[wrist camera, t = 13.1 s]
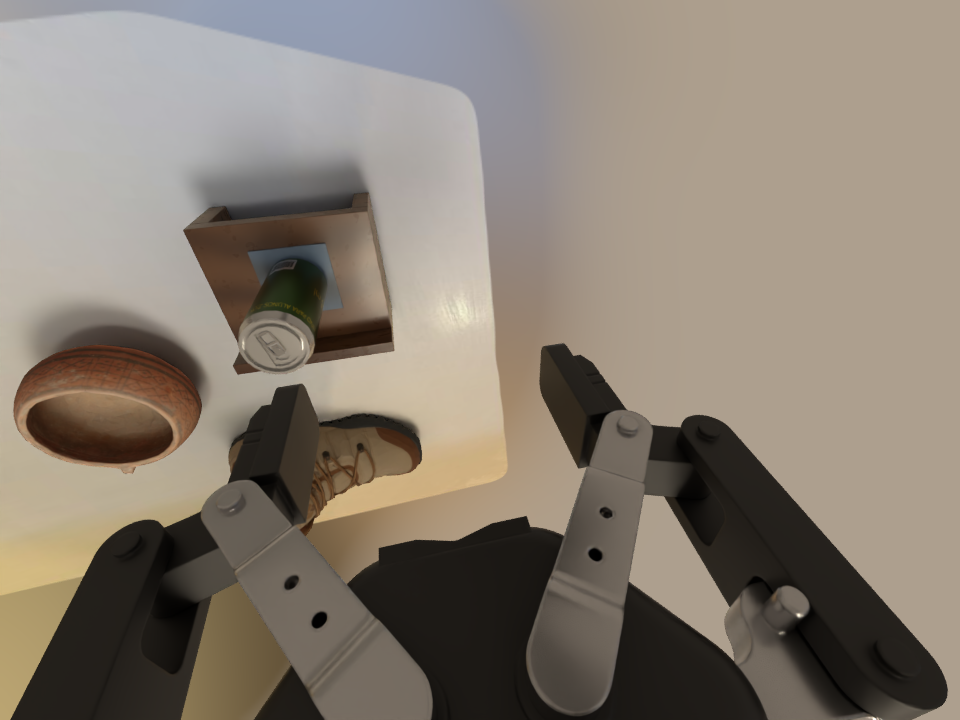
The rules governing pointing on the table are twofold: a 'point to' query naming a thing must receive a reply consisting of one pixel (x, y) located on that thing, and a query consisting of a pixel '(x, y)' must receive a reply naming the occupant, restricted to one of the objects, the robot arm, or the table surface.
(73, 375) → the bowl
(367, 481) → the shoe
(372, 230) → the wooden stand with backboard
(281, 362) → the beer can
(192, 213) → the table surface
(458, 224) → the table surface
